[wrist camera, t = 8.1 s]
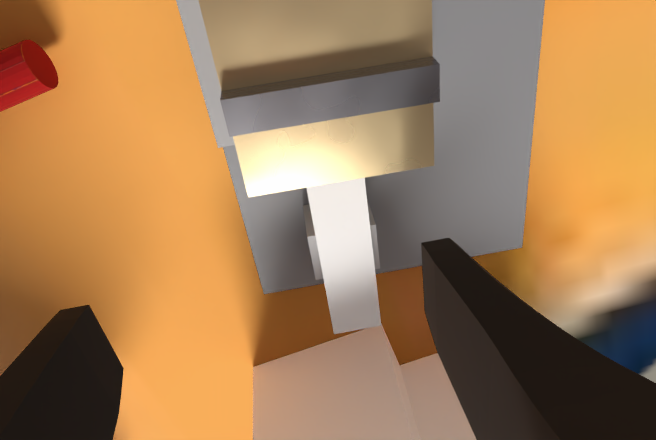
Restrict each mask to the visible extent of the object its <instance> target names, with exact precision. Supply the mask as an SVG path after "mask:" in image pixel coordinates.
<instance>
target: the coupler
mask: <svg viewBox="0 0 656 440" xmlns="http://www.w3.org/2000/svg"><path fill="white" fill-rule="evenodd" d="M198 1H199V5H200V9H201V13H202V17H203V21H204V25H205V28H206V32H207V36H208V40H209V44H210V48H211V52H212V56H213V60H214V64H215V68H216V72H217V76H218V80H219V84H220V88H221V97H220V102H221V106H222V110H223V114H224V118H225V121H226V125H227V129H228V133H229V137H232V136H233V139H234V143H235V147H236V151H237V155H238V159H239V163H240V167H241V171H242V175H243V179H244V183H245V187H246V191H247V195H248V197H253V196H259V195H265V194H271V193H276V192H282V191H288V190H294V189H300V188H306V187H312V186H318V185H324V184H330V183H336V182H341V181H347V180H353V179H359V178H365V177H371V176H377V175H383V174H389V173H395V172H400V171H406V170H412V169H418V168H424V167H430V166H434V110H433V103H436V102H440V64H439V63H438V62H437V60H436V59H435V58H434V57H433V41H432V0H198Z"/></svg>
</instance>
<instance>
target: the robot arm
mask: <svg viewBox="0 0 656 440" xmlns="http://www.w3.org/2000/svg"><path fill="white" fill-rule="evenodd" d="M421 251H422V270H423V289H424V308H425V314H426V317H427V321H428V324H429V327H430V330H431V334H432V337H433V340H434V343H435V346H436V349H437V352H438V355H439V357H440V359H441V361H442V364H443V366H444V368H445V371H446V373H447V375H448V377H449V380H450V382H451V384H452V386H453V388H454V391H455V393H456V395H457V397H458V400H459V402H460V404H461V406H462V408H463V411H464V413H465V415H466V417H467V420H468V422H469V424H470V426H471V428H472V431H473V433H474V435H475V437H476V440H656V383H654V382H652V381H650V380H649V379H647V378H645V377H643V376H641V375H639V374H637V373H635V372H633V371H631V370H629V369H627V368H625V367H623V366H622V365H620V364H618V363H616V362H614V361H613V360H611V359H609V358H607V357H605V356H604V355H602V354H600V353H599V352H597V351H595V350H594V349H592V348H591V347H589V346H587V345H586V344H584V343H582V342H581V341H579V340H577V339H576V338H574V337H573V336H571V335H570V334H568V333H567V332H565V331H564V330H562V329H561V328H559V327H558V326H557V325H555V324H554V323H552V322H551V321H549V320H548V319H547V318H545V317H544V316H543V315H541V314H540V313H538V312H537V311H536V310H534V309H533V308H532V307H530V306H529V305H528V304H526V303H525V302H524V301H522V300H521V299H520V298H519V297H518V296H516V295H515V294H514V293H513V292H511V291H510V290H509V289H508V288H506V287H505V286H504V285H503V284H501V283H500V282H499V281H498V280H497V279H495V278H494V277H493V276H492V275H491V274H490V273H488V272H487V271H486V270H485V269H484V268H483V267H482V266H480V265H479V264H478V263H477V262H476V261H475V260H474V259H473V258H472V257H470V256H469V255H468V254H467V253H466V252H465V251H464V250H463V249H462V248H461V247H460V246H459V245H458V244H456V243H455V242H454V241H453V240H452V239H450V238H444V239H438V240H433V241H428V242H422V243H421ZM122 378H123V367H122V365H121V363H120V361H119V359H118V357H117V356H116V354H115V352H114V350H113V348H112V346H111V345H110V343H109V341H108V339H107V337H106V335H105V333H104V332H103V330H102V328H101V326H100V324H99V322H98V321H97V319H96V317H95V315H94V313H93V311H92V310H91V308H90V306H89V305H85V306H80V307H75V308H69V309H64V310H60V311H59V312H58V313H57V314H56V315H55V316H54V317H53V318H52V319H51V320H50V322H49V323H48V324H47V325H46V326H45V327H44V328H43V329H42V330H41V331H40V332H39V334H38V335H37V336H36V337H35V338H34V339H33V340H32V341H31V343H30V344H29V345H28V346H27V347H26V348H25V349H24V350H23V352H22V353H21V354H20V355H19V356H18V357H17V358H16V359H15V361H14V362H13V363H12V364H11V365H10V366H9V367H8V368H7V369H6V370H5V372H4V373H3V374H2V375H1V376H0V440H113V436H114V431H115V427H116V423H117V419H118V414H119V407H120V399H121V390H122Z"/></svg>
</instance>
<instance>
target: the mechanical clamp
mask: <svg viewBox="0 0 656 440" xmlns="http://www.w3.org/2000/svg"><path fill="white" fill-rule="evenodd" d="M57 85H58V76H57V72H56V69H55V67H54V65H53V63H52V61H51V59H50V58H49V56H48V55H47V54H46V52H45V51H44V50H43V49H42V48H41V47H40V46H39V45H38V44H36V43H35V42H33V41H31V40H24V41H22V42H19V43H17V44H15V45H13V46H10V47H8V48H6V49H4V50H1V51H0V112H1V111H3V110H5V109H8V108H10V107H12V106H15V105H17V104H19V103H21V102H24V101H26V100H28V99H31V98H33V97H35V96H38V95H40V94H42V93H44V92H47V91H49V90H51V89H54V88H55V87H57Z"/></svg>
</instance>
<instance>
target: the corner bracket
mask: <svg viewBox="0 0 656 440" xmlns="http://www.w3.org/2000/svg"><path fill="white" fill-rule="evenodd" d="M253 440H476V437H475V435H474V433H473V431H472V428H471V426H470V424H469V422H468V420H467V417H466V415H465V413H464V411H463V408H462V406H461V404H460V402H459V400H458V397H457V395H456V393H455V391H454V388H453V386H452V384H451V382H450V380H449V377H448V375H447V373H446V371H445V368H444V366H443V364H442V361H441V359H440V357H439V355H438V353H436V354H433V355H430V356H427V357H424V358H421V359H417V360H414V361H411V362H408V363H405V364H402V365H399V363H398V361H397V358H396V356H395V354H394V351H393V349H392V347H391V344H390V342H389V340H388V338H387V335H386V333H385V331H384V328H383V326H382V324H381V326H376V327H371V328H366V329H363V330H361V331H358V332H355V333H352V334H349V335H346V336H343V337H340V338H337V339H334V340H331V341H328V342H325V343H322V344H319V345H316V346H313V347H311V348H308V349H305V350H302V351H299V352H296V353H293V354H290V355H287V356H284V357H281V358H278V359H275V360H272V361H269V362H266V363H263V364H261V365H258V366H255V367H253Z"/></svg>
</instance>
